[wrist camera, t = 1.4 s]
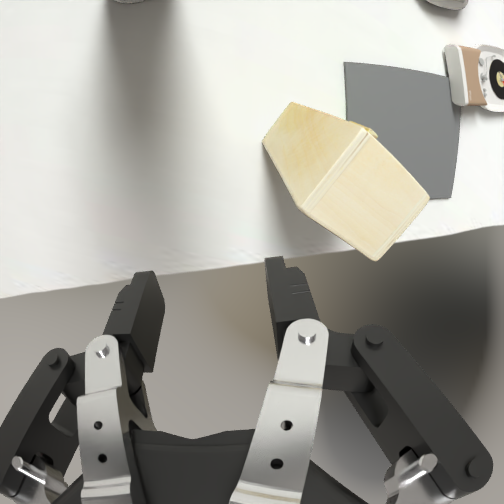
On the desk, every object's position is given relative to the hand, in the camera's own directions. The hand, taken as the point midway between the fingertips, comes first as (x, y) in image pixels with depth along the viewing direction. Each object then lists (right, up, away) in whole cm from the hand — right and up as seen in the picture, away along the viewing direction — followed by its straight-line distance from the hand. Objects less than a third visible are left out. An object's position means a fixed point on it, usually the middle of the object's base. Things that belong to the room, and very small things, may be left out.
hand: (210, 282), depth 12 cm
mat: (+24, +18, +23) cm, 38 cm away
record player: (+40, +30, +16) cm, 52 cm away
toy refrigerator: (+8, +16, +23) cm, 29 cm away
